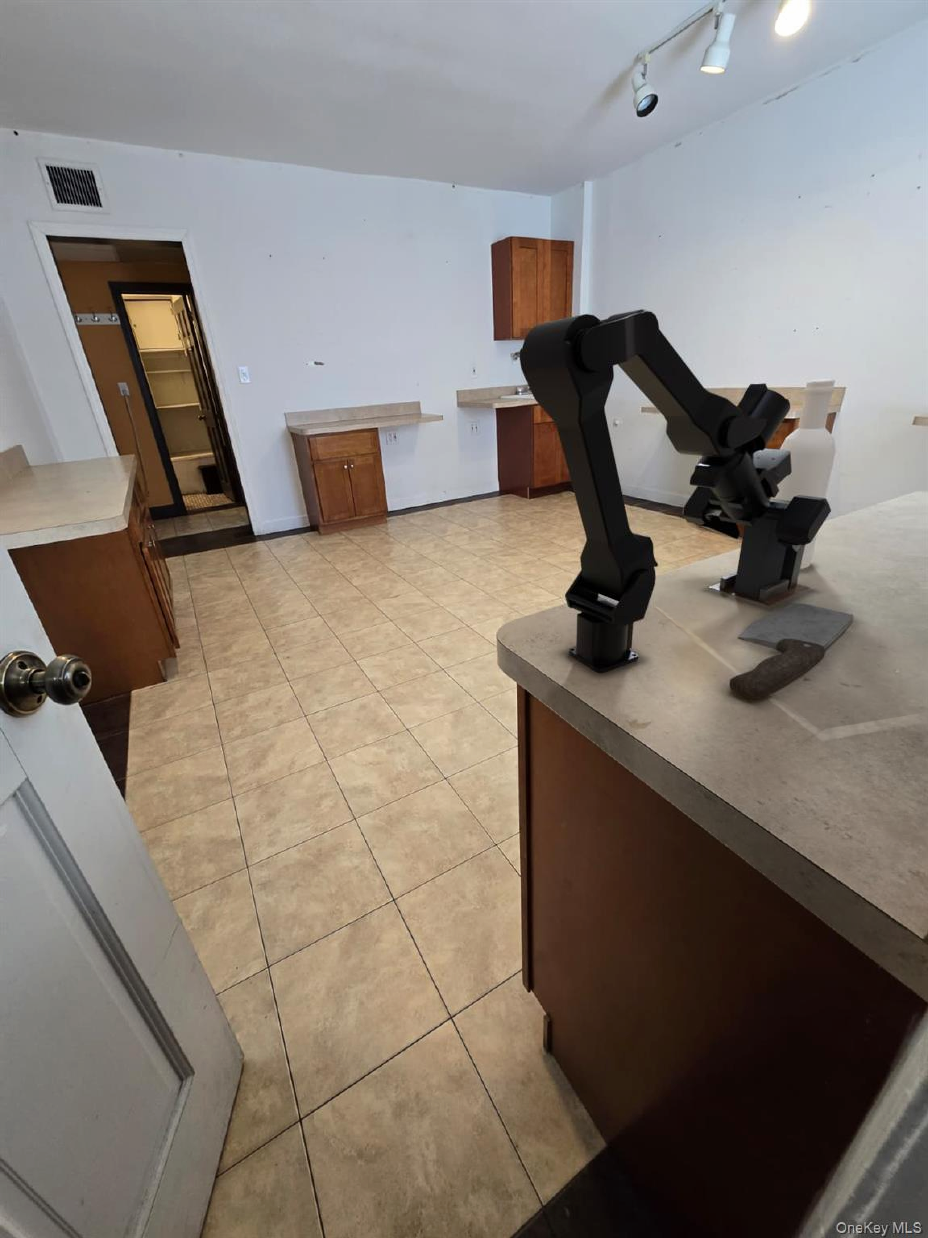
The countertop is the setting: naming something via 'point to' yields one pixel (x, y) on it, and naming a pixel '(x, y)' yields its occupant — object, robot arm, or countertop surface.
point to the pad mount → (775, 590)
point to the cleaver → (789, 645)
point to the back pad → (759, 558)
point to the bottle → (810, 451)
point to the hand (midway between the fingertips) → (766, 542)
